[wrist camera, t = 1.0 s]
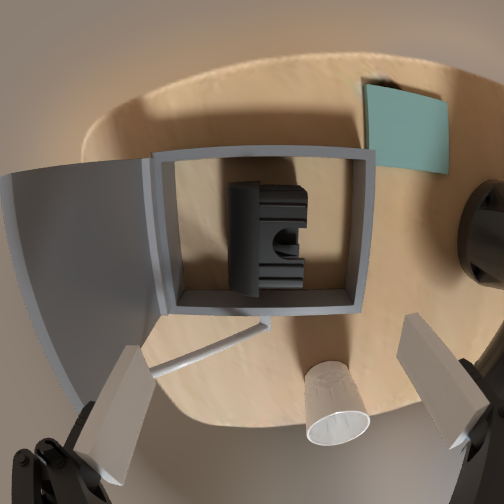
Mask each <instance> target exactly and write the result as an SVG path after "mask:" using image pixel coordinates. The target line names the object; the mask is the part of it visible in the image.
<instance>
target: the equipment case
mask: <svg viewBox="0 0 504 504" xmlns="http://www.w3.org/2000/svg"><path fill="white" fill-rule="evenodd" d="M233 157H322V158H342V159H353V191H352V213H351V230H350V243H349V254H348V265H347V274H346V283H345V289H328V290H278V291H259V297H249V296H245V295H241V294H239V293H237V292H235V291H222V290H186V289H185V281H184V273H183V265H182V256H181V246H180V236H179V225H178V214H177V200H176V185H175V167H174V161H184V160H197V159H212V158H233ZM375 166H376V150H370V149H359V148H346V147H330V146H306V145H246V146H222V147H206V148H193V149H182V150H172V151H162V152H154V153H151V158H144V159H127V160H111V161H99V162H88V163H78V164H70V165H61V166H53V167H47V168H39V169H33V170H27V171H21V172H15V173H11V174H8V175H5V176H2V177H0V195H1V202H2V211H3V218H4V224H5V230H6V235H7V240H8V245H9V250H10V254H11V258H12V262H13V266H14V270H15V274H16V277H17V281H18V284H19V288H20V291H21V294H22V297H23V300H24V303H25V306H26V309H27V312H28V314H29V317H30V320H31V322H32V325H33V327H34V330H35V332H36V335H37V337H38V340H39V342H40V344H41V346H42V349H43V351H44V353H45V355H46V357H47V359H48V362H49V364H50V365H51V368H52V370H53V372H54V373H55V375H56V377H57V379H58V381H59V383H60V385H61V386H62V388H63V390H64V392H65V394H66V395H67V397H68V399H69V400H70V402H71V404H72V405H73V407H74V409H75V410H76V412H77V413H78V415H79V414H80V412H81V410H82V408H83V407H84V406H85V405H86V404H87V403H88V402H89V401H95V402H96V401H97V399H98V397H99V395H100V393H101V391H102V389H103V387H104V385H105V383H106V381H107V380H108V378H109V376H110V374H111V372H112V370H113V368H114V366H115V365H116V363H117V361H118V359H119V357H120V355H121V354H122V352H123V350H124V348H125V347H126V345H139V346H140V349H141V347H142V346H143V344H144V342H145V341H146V339H147V337H148V336H149V334H150V332H151V331H152V329H153V327H154V326H155V324H156V322H157V321H158V319H159V317H160V316H161V315H167V316H168V314H186V315H214V316H260V323H259V324H257V325H255V326H253V327H250V328H248V329H246V330H244V331H241V332H239V333H237V334H234V335H232V336H230V337H227V338H225V339H223V340H220V341H218V342H216V343H213V344H211V345H208V346H206V347H204V348H201V349H199V350H196V351H194V352H191V353H189V354H186V355H184V356H181V357H178V358H176V359H173V360H171V361H168V362H165V363H163V364H160V365H157V366H154V367H152V368H149V370H150V372H151V374H152V376H153V378H156V377H159V376H161V375H164V374H167V373H169V372H172V371H174V370H177V369H179V368H182V367H184V366H187V365H189V364H192V363H194V362H197V361H199V360H201V359H204V358H206V357H209V356H211V355H213V354H216V353H218V352H220V351H222V350H225V349H227V348H229V347H231V346H234V345H236V344H238V343H240V342H242V341H245V340H247V339H249V338H251V337H253V336H255V335H257V334H260V333H262V332H264V331H271V316H301V315H330V314H349V313H361V310H362V305H363V299H364V292H365V286H366V279H367V272H368V264H369V256H370V247H371V237H372V226H373V213H374V196H375Z"/></svg>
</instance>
